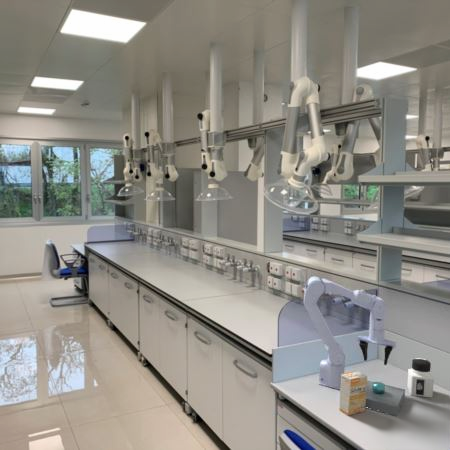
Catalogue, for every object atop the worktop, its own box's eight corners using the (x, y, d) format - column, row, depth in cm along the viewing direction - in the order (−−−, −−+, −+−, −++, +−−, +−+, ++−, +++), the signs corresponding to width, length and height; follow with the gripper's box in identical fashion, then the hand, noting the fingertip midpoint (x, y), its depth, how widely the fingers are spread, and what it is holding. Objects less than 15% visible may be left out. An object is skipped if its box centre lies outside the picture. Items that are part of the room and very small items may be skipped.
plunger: (370, 401, 163) (371, 384, 162) (373, 397, 167) (374, 380, 166) (382, 404, 161) (383, 387, 160) (385, 400, 164) (386, 383, 164)
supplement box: (348, 416, 152) (350, 379, 151) (338, 410, 156) (340, 374, 155) (366, 411, 156) (368, 375, 155) (356, 405, 160) (358, 370, 159)
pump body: (350, 403, 161) (350, 394, 161) (361, 387, 175) (362, 379, 174) (396, 416, 153) (397, 406, 152) (404, 398, 166) (405, 389, 166)
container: (432, 398, 167) (434, 364, 166) (411, 395, 169) (413, 362, 168) (427, 389, 175) (429, 357, 174) (407, 387, 176) (408, 355, 176)
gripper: (355, 327, 174) (354, 361, 175) (394, 334, 166) (392, 369, 167) (360, 323, 180) (358, 355, 181) (398, 329, 172) (396, 363, 173)
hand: (375, 362), depth 174 cm, fingers open, 7 cm apart
